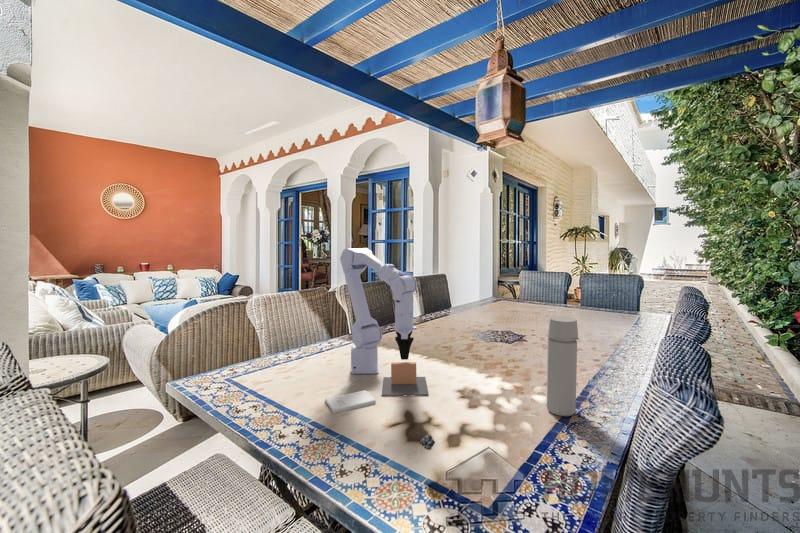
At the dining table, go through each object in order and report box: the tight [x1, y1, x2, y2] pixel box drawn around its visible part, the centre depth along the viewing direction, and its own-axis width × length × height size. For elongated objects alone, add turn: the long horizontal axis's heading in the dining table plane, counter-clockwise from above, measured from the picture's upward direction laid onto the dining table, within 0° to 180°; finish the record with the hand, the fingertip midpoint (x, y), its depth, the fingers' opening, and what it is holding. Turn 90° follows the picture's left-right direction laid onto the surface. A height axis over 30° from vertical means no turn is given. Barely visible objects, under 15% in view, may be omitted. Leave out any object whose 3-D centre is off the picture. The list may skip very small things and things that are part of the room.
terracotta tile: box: [390, 361, 417, 384], centre depth 116 cm, size 8×2×6 cm, turn 90°
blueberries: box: [419, 434, 436, 450], centre depth 82 cm, size 7×8×2 cm
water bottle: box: [545, 316, 580, 417], centre depth 96 cm, size 9×8×25 cm
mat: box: [381, 376, 429, 397], centre depth 114 cm, size 14×14×1 cm
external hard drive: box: [324, 389, 377, 414], centre depth 103 cm, size 2×8×12 cm
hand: (404, 355), depth 115 cm, fingers open, 7 cm apart
